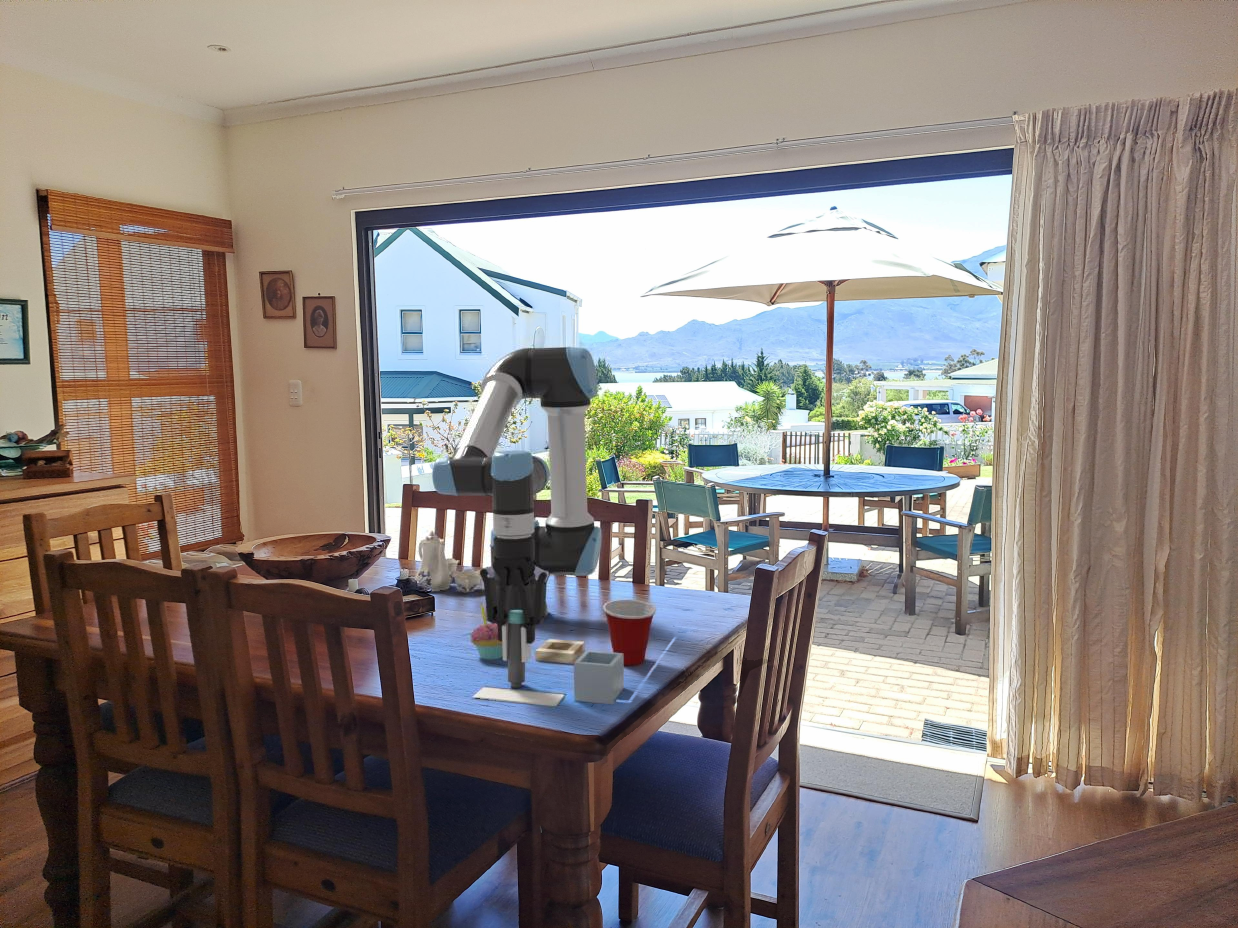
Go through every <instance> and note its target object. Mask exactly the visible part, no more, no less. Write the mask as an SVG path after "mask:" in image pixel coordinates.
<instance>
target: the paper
mask: <svg viewBox="0 0 1238 928" xmlns="http://www.w3.org/2000/svg"><path fill="white" fill-rule="evenodd" d="M566 696H567V693H560V692H559V693H558V692H549V691H548V692H547V691H537V690H536V691H535V690H528V689H518V688H506V687H495V686H486V685H485V686H483V687H482V688H480V690H478V691H477V693H475V694H474V695H472V699H475V698H480V699H479V700H485V699H489V700H488V701H495V700H496V701H498V702H506V703H507V702H508V703H517V704H525V705H526V704H527V705H538V706H545V707H546V706H547V707H556V706H557V705H558V704H560V702H561V701H562V700H563V699H564V698H565V697H566Z"/></svg>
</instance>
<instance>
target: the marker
mask: <svg viewBox="0 0 1238 928" xmlns="http://www.w3.org/2000/svg"><path fill="white" fill-rule="evenodd" d="M508 622H509V637H508V660H507V682H508V683H510V687H511V688H512V689H518V688H519V689H520V688H522V687H523V686H522V685H523V684H522V683H525V682H526V662H522V650H521V627H523V626H524V625H525V623H524V617H523V611H522V610H511V611H509V619H508Z"/></svg>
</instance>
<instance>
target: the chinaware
mask: <svg viewBox="0 0 1238 928" xmlns="http://www.w3.org/2000/svg"><path fill="white" fill-rule="evenodd" d="M428 534H429V535H427V536H426V537H425V539H422V540H420V541H419V544H418V555H419V558H420V565H419V568H417V571H416V573H415V575H414V577H413V580H414V579H415V580H417V581H418V582H419V583H420V584H422V585H426V586H428V587H429V588H430V589H431V590H433V591H437V592H441V591H440V590H443V591H446V590H448V589H450V585H451V584H452V582H453V579H454V582H455V584H456V586H457V587H458V588H459V589H461V592H462V593H464V594H465V593H473V592H475V591H476V590H475V588H477V587H478V586H479V585H480V582H481V580H482V577H481V575H480V570H481V569H478V570H474V569H472V568H466V569H462V570H461V571H459V570H456V569H457V566H458V563H460V560H459V559H457V560H456V559H455V558H452V557H448V558H446V554H445V543H444V541H445V540H444V538H439V536H438V535H436V534H435V532H434V531H433V530H431V531H430V532H429V533H428ZM415 580H414V581H415Z"/></svg>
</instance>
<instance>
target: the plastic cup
mask: <svg viewBox="0 0 1238 928" xmlns="http://www.w3.org/2000/svg"><path fill="white" fill-rule="evenodd" d="M602 609H603V611H604V613H605V617H606V621H607V625H608V633H609V638H610V639H609V640H610V643H611V645H610V646H611V648H612V652H613V653H623V664H624V667H636V666H640V665H642V664H643V663H644V662H645V659H646V654H647V649H648V643H649V637H650V631H651V624H652V621H653V619H654V616H655V615H656V611H657V610H658V609H657V607H656V605H653V604H652V603H650V602H647V601H643V600H637V599H615V600H611V601H608V602H606V603H604V605H603V606H602Z"/></svg>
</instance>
